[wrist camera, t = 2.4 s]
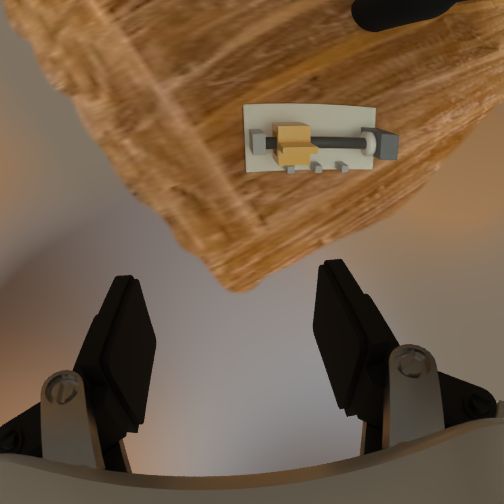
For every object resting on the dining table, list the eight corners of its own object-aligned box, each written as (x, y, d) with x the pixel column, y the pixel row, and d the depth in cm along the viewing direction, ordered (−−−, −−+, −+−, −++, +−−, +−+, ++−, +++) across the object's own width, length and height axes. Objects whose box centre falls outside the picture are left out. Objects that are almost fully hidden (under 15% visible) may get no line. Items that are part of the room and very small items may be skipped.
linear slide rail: (374, 107, 42) (400, 112, 35) (371, 167, 47) (394, 182, 40) (242, 104, 41) (247, 106, 34) (245, 170, 46) (250, 185, 39)
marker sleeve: (300, 122, 39) (318, 129, 32) (300, 156, 42) (317, 171, 35) (271, 122, 39) (282, 129, 32) (272, 157, 42) (283, 172, 34)
